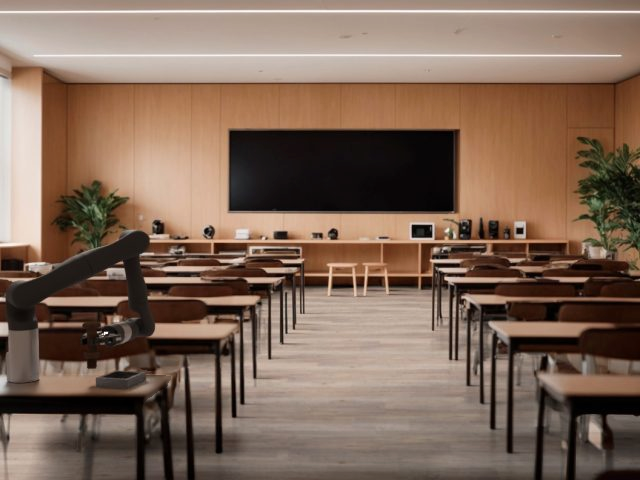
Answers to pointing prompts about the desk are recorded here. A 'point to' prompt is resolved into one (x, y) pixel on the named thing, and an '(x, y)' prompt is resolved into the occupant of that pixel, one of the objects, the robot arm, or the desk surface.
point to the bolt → (91, 350)
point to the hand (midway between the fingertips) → (86, 342)
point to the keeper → (120, 379)
